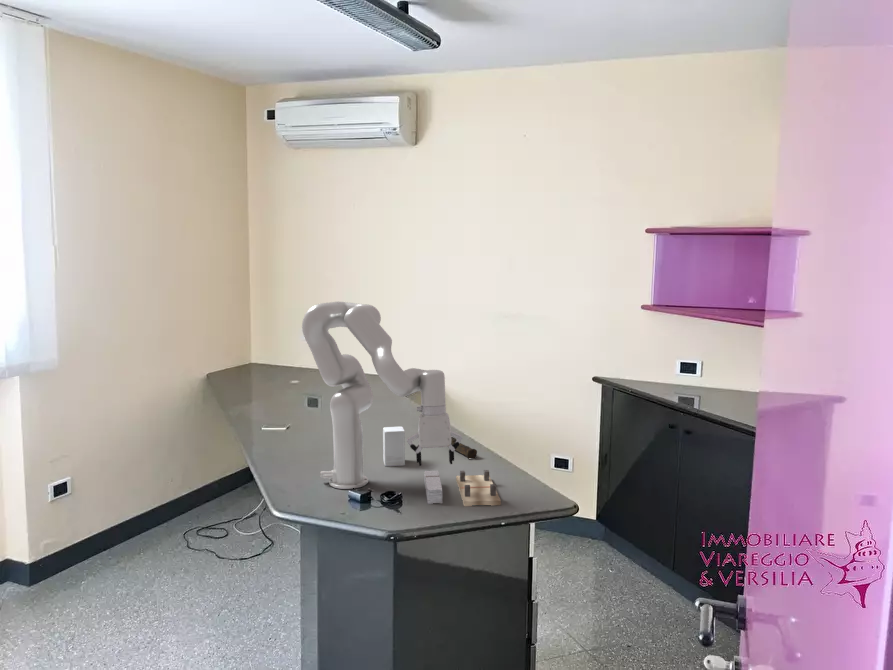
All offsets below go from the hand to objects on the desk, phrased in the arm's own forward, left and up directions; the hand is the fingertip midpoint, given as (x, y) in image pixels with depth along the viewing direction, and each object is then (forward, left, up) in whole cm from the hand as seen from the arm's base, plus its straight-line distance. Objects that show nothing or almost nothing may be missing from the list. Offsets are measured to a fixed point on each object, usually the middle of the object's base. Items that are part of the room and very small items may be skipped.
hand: (435, 463), depth 211 cm
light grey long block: (-1, 0, -10) cm, 10 cm away
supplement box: (-13, +33, -10) cm, 37 cm away
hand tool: (+12, +44, -10) cm, 47 cm away
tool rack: (+13, 0, -10) cm, 16 cm away
